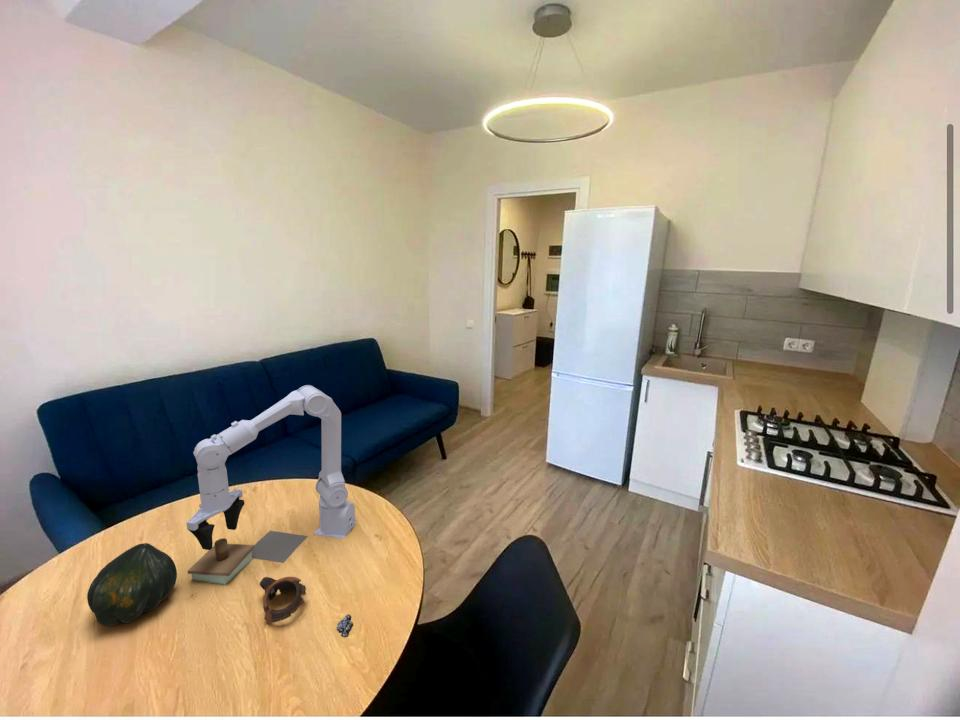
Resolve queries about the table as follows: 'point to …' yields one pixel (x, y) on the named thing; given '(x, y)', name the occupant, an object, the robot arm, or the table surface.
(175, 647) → the table surface
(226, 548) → the lid
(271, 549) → the mat
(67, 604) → the table surface
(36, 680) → the table surface
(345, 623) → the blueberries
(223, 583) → the dish
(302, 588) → the pottery mug
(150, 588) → the squash
